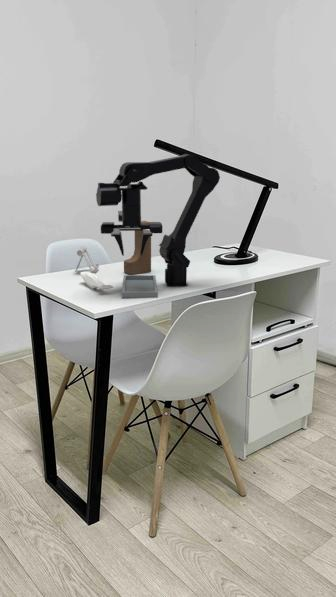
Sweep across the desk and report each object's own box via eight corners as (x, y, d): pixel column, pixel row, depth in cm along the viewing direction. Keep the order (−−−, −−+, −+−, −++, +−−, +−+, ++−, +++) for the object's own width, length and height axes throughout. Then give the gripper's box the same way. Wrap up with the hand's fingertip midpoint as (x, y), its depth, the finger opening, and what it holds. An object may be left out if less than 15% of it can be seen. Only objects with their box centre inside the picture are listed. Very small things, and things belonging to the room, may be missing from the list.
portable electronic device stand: (96, 273, 198) (95, 250, 196) (74, 273, 198) (73, 250, 196) (99, 268, 207) (98, 245, 204) (77, 268, 207) (77, 245, 204)
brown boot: (129, 275, 196) (129, 223, 191) (123, 272, 199) (122, 222, 195) (151, 272, 201) (151, 222, 196) (145, 269, 204) (144, 220, 199)
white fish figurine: (92, 281, 186) (92, 269, 185) (114, 293, 171) (113, 281, 170) (76, 283, 184) (76, 271, 183) (97, 295, 169) (96, 283, 168)
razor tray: (155, 281, 188) (155, 275, 187) (157, 298, 166) (157, 292, 165) (123, 281, 187) (123, 275, 187) (121, 298, 165) (121, 292, 165)
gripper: (161, 202, 178) (161, 250, 182) (102, 202, 177) (103, 250, 181) (162, 205, 167) (162, 257, 171) (99, 206, 166) (101, 257, 171)
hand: (132, 255), depth 174 cm, fingers open, 5 cm apart
